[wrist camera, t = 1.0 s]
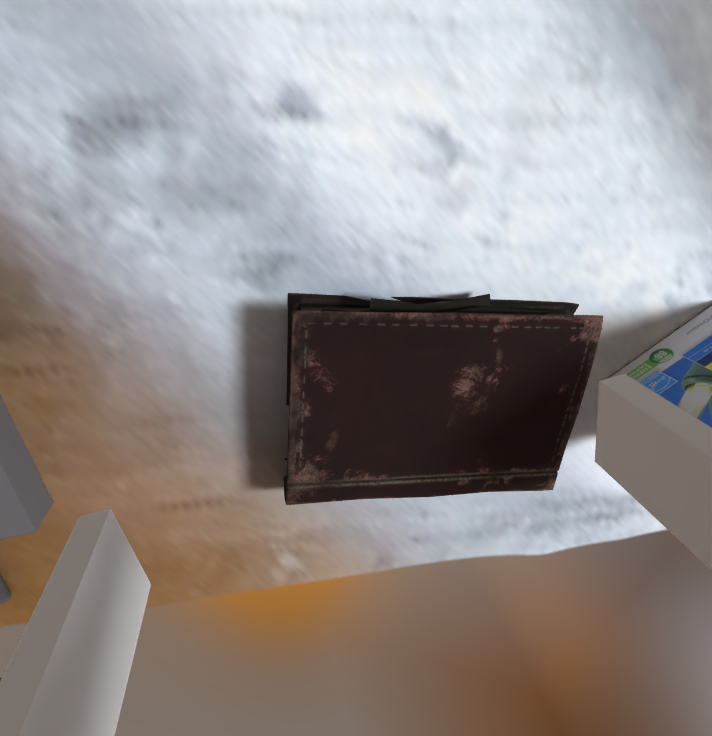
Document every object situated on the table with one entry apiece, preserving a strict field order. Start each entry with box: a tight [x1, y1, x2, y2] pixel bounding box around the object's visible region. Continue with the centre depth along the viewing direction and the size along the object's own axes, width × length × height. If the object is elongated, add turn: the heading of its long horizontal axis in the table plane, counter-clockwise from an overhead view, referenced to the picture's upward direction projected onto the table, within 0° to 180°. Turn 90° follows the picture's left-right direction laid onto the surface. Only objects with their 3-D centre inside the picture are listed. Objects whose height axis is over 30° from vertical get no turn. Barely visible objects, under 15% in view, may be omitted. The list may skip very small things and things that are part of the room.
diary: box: [284, 293, 603, 505], centre depth 42 cm, size 19×25×5 cm
